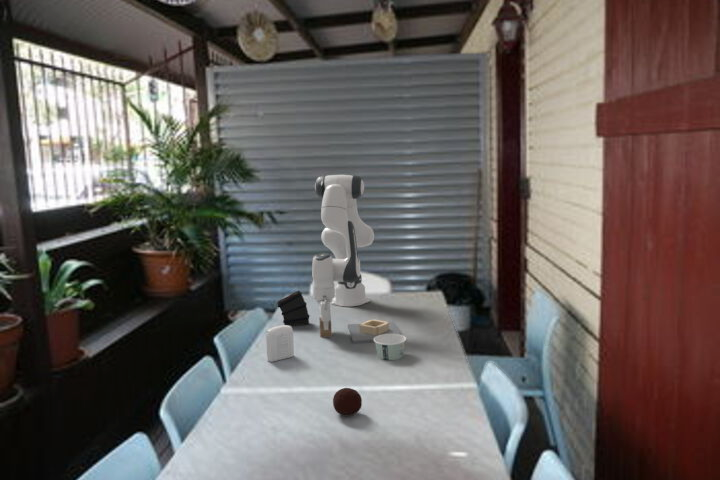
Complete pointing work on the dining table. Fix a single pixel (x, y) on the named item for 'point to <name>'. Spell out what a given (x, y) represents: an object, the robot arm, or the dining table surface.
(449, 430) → the dining table surface
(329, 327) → the block
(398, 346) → the food container
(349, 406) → the brown ball
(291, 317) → the black ridged flat block
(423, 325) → the dining table surface
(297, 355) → the dining table surface
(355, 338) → the mount plate
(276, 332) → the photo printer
